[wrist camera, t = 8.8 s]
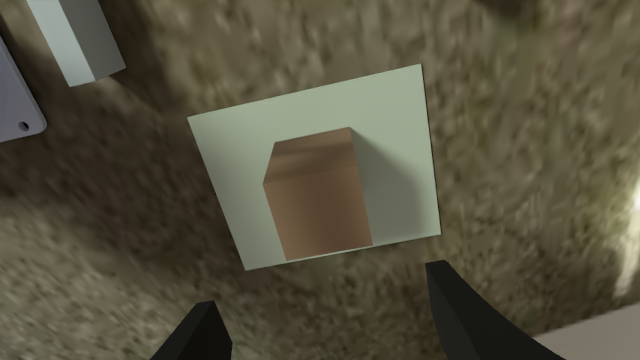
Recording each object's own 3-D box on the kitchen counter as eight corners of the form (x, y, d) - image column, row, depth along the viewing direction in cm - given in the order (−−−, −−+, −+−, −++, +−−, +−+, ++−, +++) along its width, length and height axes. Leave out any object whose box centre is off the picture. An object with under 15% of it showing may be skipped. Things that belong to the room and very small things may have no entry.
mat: (245, 269, 25) (245, 270, 25) (187, 116, 21) (186, 117, 21) (440, 233, 24) (441, 234, 24) (420, 63, 20) (421, 64, 20)
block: (293, 207, 23) (286, 260, 18) (274, 142, 21) (262, 184, 17) (362, 193, 23) (372, 245, 18) (349, 126, 21) (357, 165, 16)
